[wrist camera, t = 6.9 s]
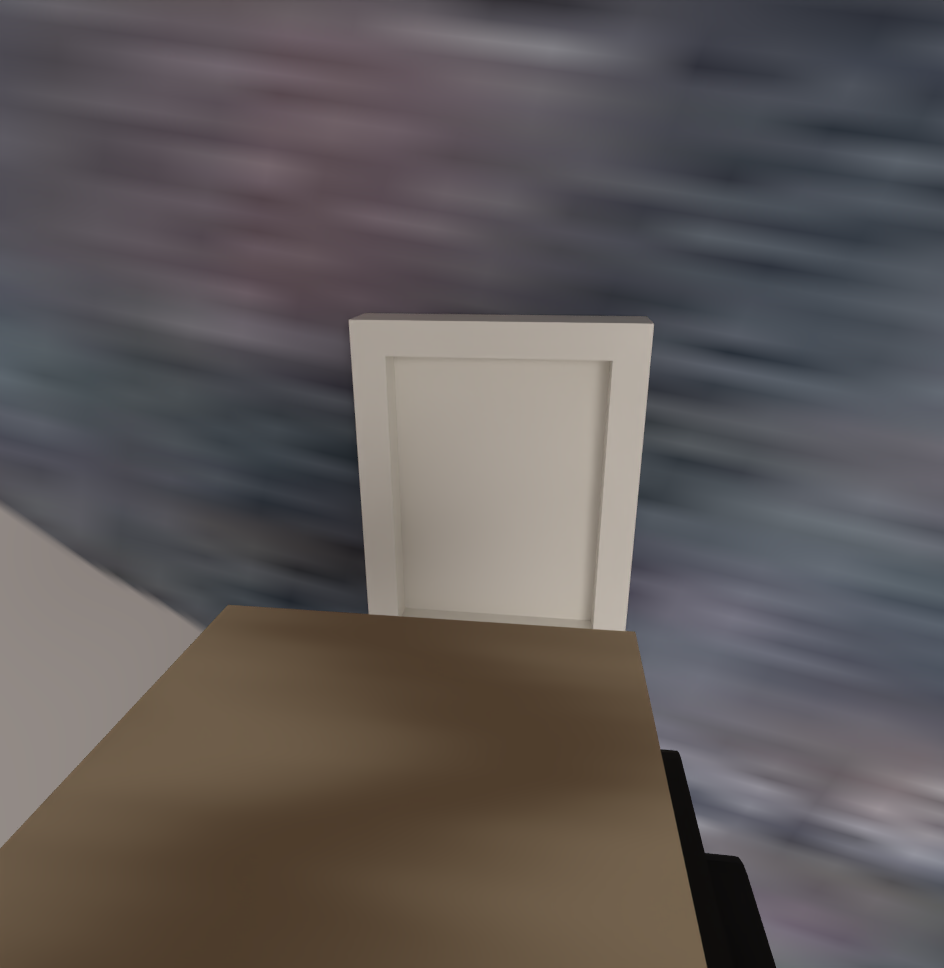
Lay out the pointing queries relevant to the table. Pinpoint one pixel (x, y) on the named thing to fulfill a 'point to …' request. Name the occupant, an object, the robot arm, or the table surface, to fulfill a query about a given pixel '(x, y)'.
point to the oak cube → (364, 808)
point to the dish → (500, 464)
